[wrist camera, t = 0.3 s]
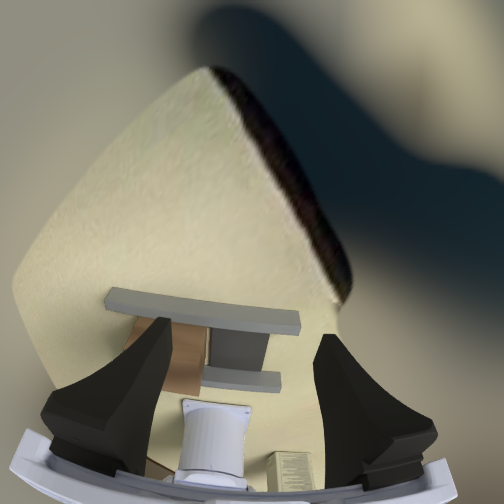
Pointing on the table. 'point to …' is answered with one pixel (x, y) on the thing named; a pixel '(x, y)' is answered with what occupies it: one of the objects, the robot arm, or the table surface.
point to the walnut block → (180, 355)
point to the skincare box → (289, 472)
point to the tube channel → (219, 334)
